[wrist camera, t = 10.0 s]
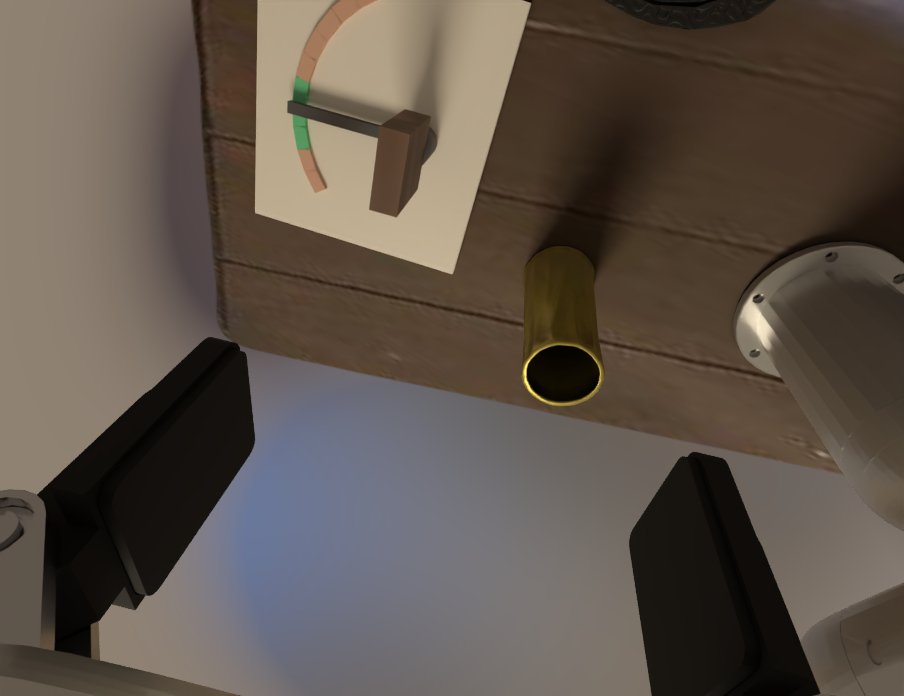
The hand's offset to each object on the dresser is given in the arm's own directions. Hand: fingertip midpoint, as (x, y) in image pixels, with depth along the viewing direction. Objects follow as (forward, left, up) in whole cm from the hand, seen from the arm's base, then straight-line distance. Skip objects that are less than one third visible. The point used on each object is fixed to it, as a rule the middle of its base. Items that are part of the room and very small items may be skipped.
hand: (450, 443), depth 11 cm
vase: (-7, +10, -32) cm, 35 cm away
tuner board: (+11, +2, -32) cm, 34 cm away
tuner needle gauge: (+11, +2, -30) cm, 33 cm away
